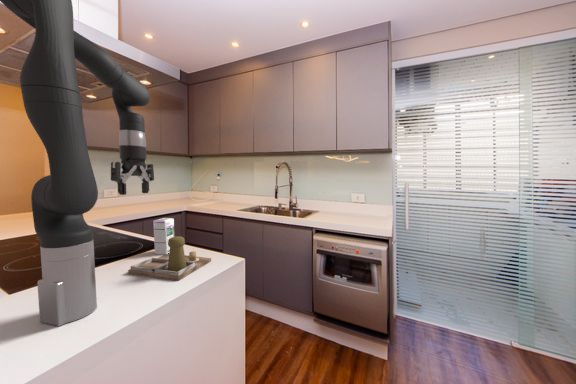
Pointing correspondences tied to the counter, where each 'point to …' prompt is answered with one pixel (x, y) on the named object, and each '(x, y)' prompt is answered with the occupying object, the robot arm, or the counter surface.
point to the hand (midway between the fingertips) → (134, 193)
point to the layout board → (160, 266)
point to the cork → (176, 254)
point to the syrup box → (163, 234)
